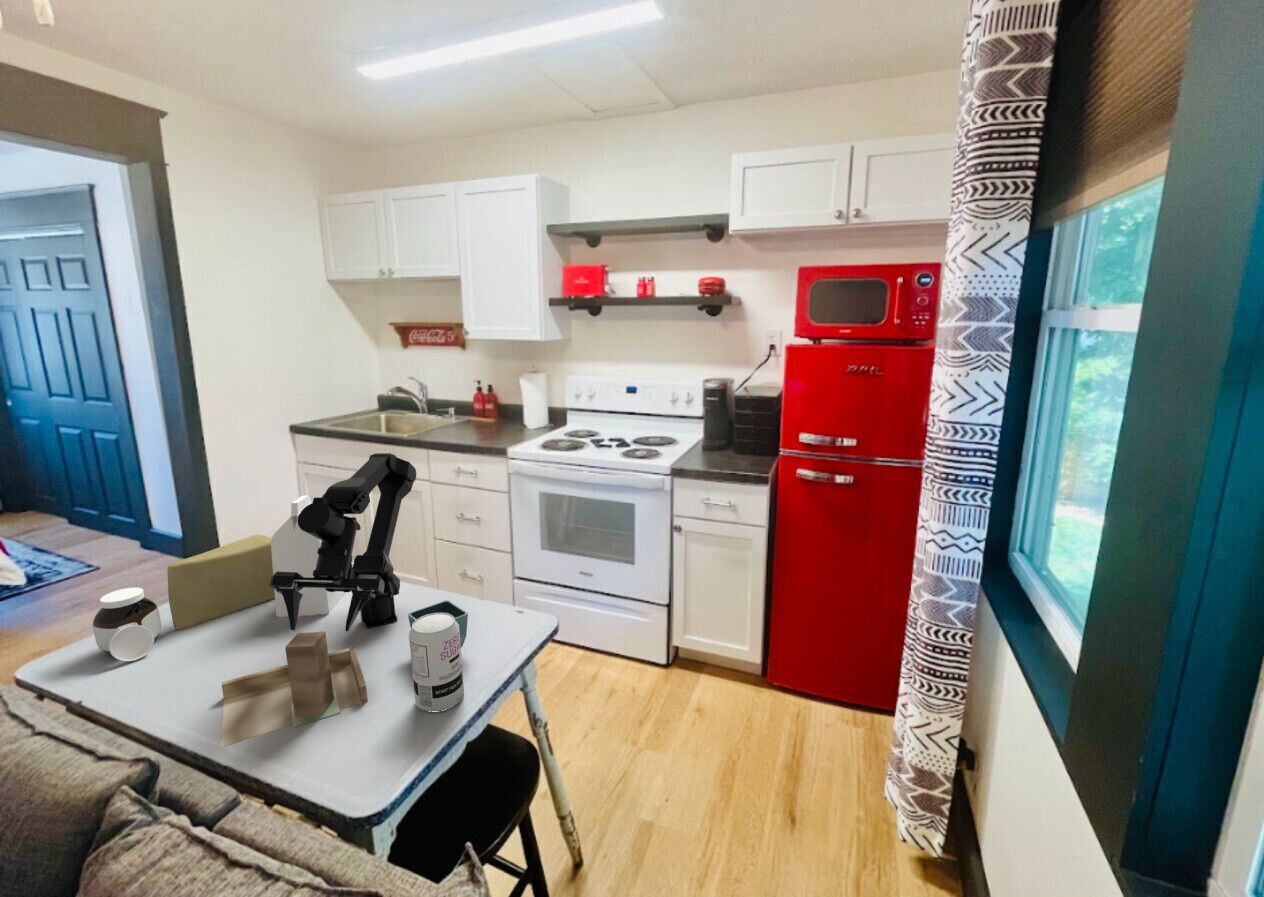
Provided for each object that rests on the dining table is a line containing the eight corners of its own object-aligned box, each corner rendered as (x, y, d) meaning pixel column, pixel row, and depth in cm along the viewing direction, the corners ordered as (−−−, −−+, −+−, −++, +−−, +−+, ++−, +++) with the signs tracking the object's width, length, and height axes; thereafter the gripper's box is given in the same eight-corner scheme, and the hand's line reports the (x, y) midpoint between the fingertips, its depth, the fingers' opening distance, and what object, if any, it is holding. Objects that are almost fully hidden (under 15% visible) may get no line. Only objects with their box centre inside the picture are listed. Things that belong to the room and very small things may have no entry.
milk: (299, 593, 146) (285, 492, 141) (348, 590, 148) (336, 490, 142) (276, 617, 135) (260, 508, 129) (329, 614, 136) (315, 505, 130)
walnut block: (307, 700, 104) (298, 632, 101) (334, 698, 104) (325, 631, 101) (295, 717, 99) (285, 647, 97) (322, 715, 100) (313, 645, 97)
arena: (356, 662, 116) (354, 646, 116) (369, 705, 103) (366, 688, 102) (224, 699, 105) (221, 682, 105) (220, 753, 92) (216, 734, 91)
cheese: (186, 636, 127) (174, 571, 124) (164, 625, 132) (152, 562, 128) (288, 595, 146) (280, 538, 142) (266, 587, 150) (258, 531, 147)
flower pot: (450, 637, 125) (447, 598, 123) (472, 653, 119) (469, 613, 117) (410, 654, 119) (406, 613, 117) (430, 672, 113) (426, 629, 111)
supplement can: (422, 687, 108) (415, 612, 105) (468, 684, 109) (462, 609, 106) (410, 716, 100) (401, 635, 97) (459, 713, 101) (453, 633, 98)
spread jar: (141, 632, 129) (131, 582, 126) (184, 637, 126) (175, 586, 124) (81, 663, 117) (68, 608, 115) (127, 669, 115) (115, 614, 112)
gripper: (394, 558, 123) (382, 636, 117) (297, 554, 120) (279, 635, 114) (384, 545, 113) (370, 629, 107) (278, 540, 110) (257, 627, 104)
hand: (320, 630), depth 108 cm, fingers open, 9 cm apart
